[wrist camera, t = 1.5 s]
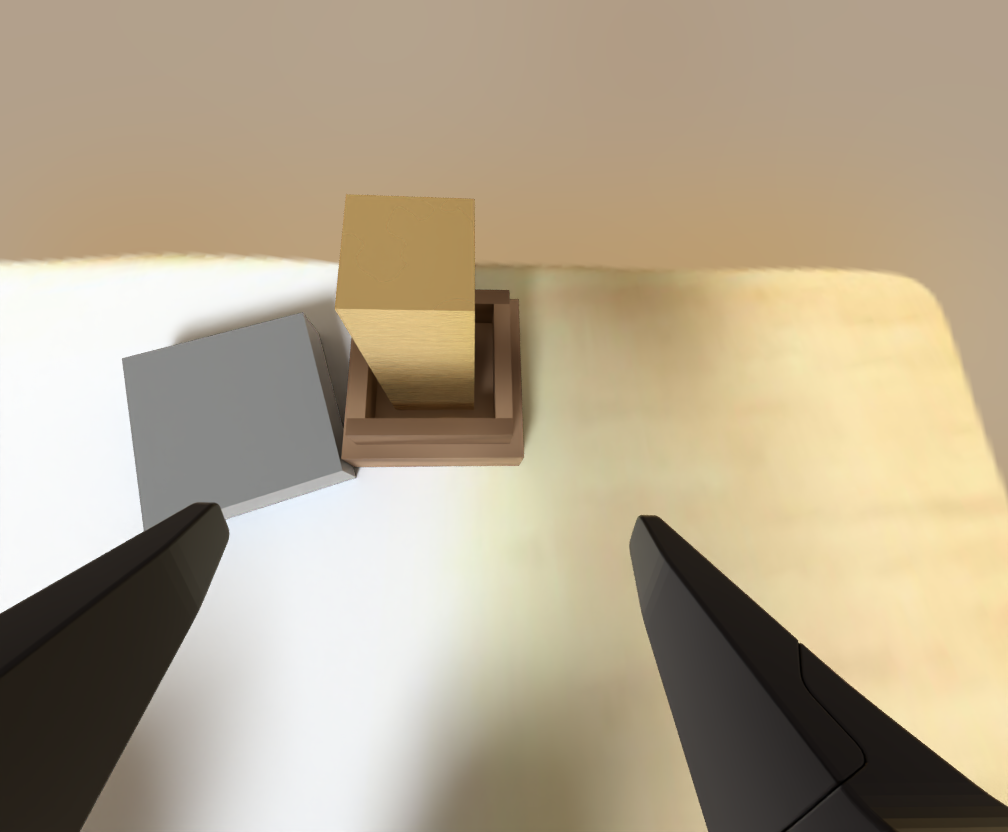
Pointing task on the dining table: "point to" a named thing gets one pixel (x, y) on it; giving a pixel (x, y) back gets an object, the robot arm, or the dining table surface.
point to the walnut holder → (445, 433)
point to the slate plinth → (234, 420)
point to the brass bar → (411, 296)
